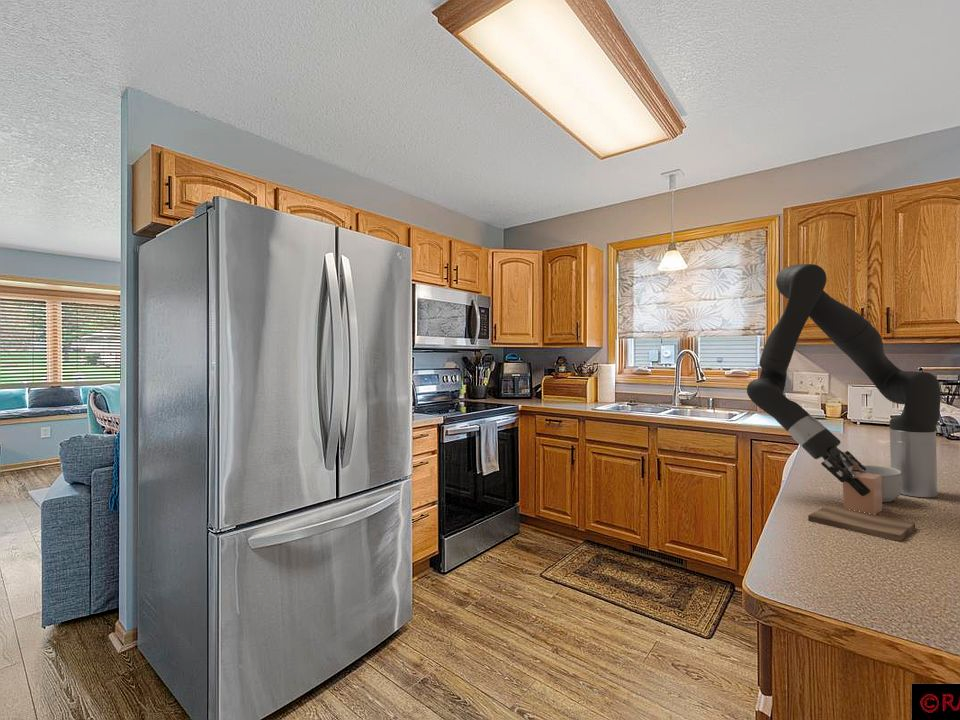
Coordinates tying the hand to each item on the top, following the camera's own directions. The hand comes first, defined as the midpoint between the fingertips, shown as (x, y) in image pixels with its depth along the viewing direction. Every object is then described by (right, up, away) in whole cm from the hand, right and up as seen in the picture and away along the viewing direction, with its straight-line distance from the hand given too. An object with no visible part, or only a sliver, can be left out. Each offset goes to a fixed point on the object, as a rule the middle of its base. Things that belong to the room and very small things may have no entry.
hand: (871, 491), depth 112 cm
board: (-10, -5, -9) cm, 14 cm away
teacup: (+9, -5, +11) cm, 15 cm away
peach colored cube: (-1, -5, +1) cm, 5 cm away
